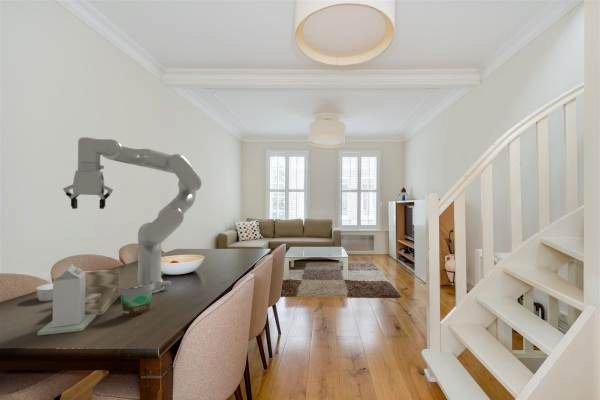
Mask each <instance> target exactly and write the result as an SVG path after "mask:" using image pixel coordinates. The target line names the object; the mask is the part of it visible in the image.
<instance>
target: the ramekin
mask: <svg viewBox="0 0 600 400" xmlns="http://www.w3.org/2000/svg"><path fill="white" fill-rule="evenodd" d="M35 291H36V295H37V299H38V300H39V302H51V301H52V302H53V282H50V283H44V284H42V285H39V286H37V287H35Z"/></svg>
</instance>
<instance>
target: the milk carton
mask: <svg viewBox="0 0 600 400" xmlns="http://www.w3.org/2000/svg"><path fill="white" fill-rule="evenodd" d="M85 280H86V274H85V273H84V271H83V269H82V268H79V267H75V265H74V263H71V264H70V265H68V266H67V267H66V270H65V272H64V273H62V274H60V276H57V277H56V278H55V279H54V280H52V281H53V282H52V283H53V301H52V321H53V326H52V327H60V326H67V325H74V324H80V323H81V321H82V320H83V318H84V317H85Z"/></svg>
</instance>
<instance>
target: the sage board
mask: <svg viewBox="0 0 600 400" xmlns="http://www.w3.org/2000/svg"><path fill="white" fill-rule="evenodd" d="M96 317H97V315H96V314H89V315H85V317H84V318H83V320H82V321H81V323H80V324H74V325H67V326H60V327H52V326H53V320H51V321H50V322H49V323H48V324H46V325H45V326H43V327H42V328H41V329H39V330H38V331H37V336H44V335H55V334H63V333H72V332H81V331H82V332H83V330H85V328H86V327H87V326H88V325H90V323H92V322H93V320H94V319H96Z"/></svg>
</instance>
